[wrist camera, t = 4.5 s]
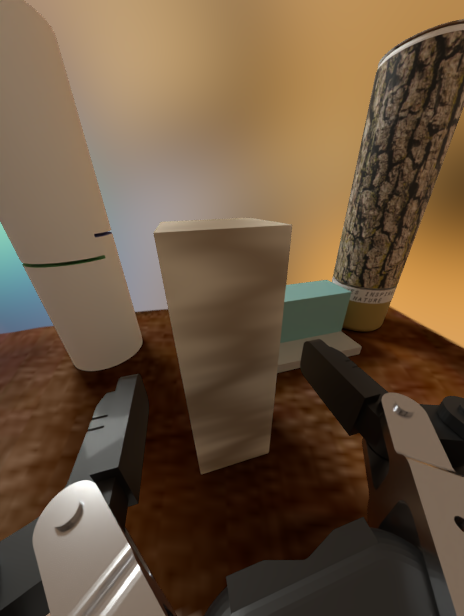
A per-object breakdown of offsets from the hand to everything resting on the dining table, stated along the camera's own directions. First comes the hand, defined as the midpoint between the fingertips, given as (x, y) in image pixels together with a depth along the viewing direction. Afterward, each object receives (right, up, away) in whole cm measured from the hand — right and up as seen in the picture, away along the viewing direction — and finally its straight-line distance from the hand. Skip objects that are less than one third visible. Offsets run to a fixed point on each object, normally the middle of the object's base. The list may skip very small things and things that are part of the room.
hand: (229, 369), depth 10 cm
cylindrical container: (-14, -2, +14) cm, 20 cm away
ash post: (0, -6, +5) cm, 8 cm away
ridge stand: (+5, -1, +14) cm, 15 cm away
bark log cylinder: (+17, +1, +18) cm, 24 cm away
